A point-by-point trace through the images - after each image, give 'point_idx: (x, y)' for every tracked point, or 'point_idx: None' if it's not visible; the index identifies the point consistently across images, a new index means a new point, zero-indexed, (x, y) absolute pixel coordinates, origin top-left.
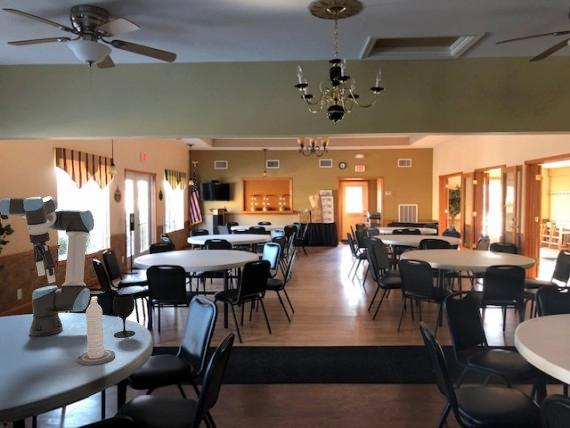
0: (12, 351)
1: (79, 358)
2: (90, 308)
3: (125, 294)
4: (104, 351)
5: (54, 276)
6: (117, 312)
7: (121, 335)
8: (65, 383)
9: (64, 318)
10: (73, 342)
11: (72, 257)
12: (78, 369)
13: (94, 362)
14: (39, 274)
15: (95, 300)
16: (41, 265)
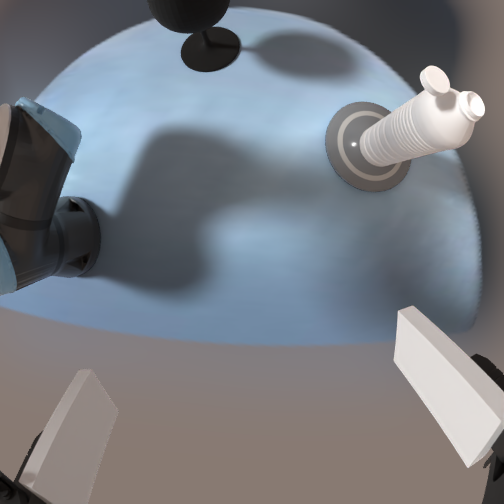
0: (183, 324)
1: (367, 185)
2: (471, 132)
3: None
4: (352, 119)
5: (444, 337)
6: (213, 23)
7: (225, 54)
8: (457, 238)
9: None
10: (194, 175)
11: None
12: (411, 200)
13: (410, 162)
14: (110, 417)
15: (480, 101)
16: (64, 464)
